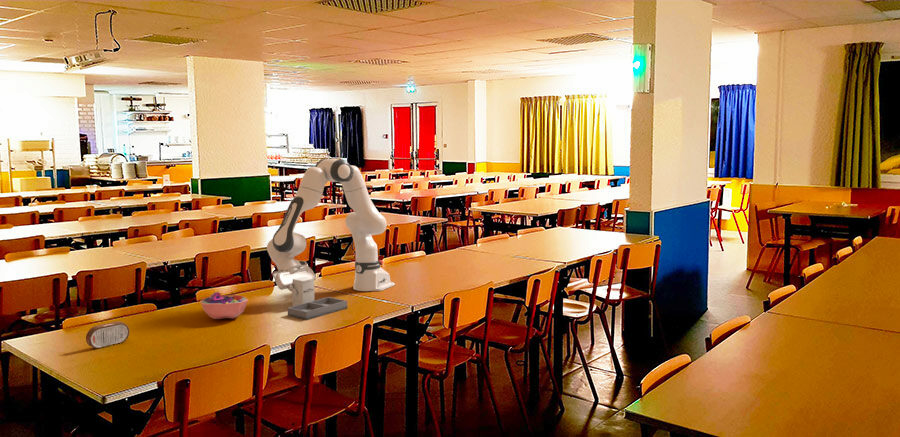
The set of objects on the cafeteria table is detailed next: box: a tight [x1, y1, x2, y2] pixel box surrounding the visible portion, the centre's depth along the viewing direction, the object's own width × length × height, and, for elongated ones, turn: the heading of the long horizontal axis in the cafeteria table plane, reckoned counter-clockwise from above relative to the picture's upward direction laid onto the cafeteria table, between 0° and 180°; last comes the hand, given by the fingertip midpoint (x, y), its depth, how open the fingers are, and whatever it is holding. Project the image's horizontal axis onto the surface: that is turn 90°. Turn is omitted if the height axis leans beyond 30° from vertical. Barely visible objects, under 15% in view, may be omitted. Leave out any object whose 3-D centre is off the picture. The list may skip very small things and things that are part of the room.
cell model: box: [200, 291, 249, 320], centre depth 287 cm, size 17×20×11 cm
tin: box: [85, 321, 130, 349], centre depth 251 cm, size 15×3×8 cm, turn 141°
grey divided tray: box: [287, 296, 348, 321], centre depth 297 cm, size 24×12×4 cm, turn 143°
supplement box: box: [291, 277, 316, 307], centre depth 307 cm, size 7×7×13 cm
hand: (304, 292), depth 307 cm, fingers closed on supplement box, 7 cm apart
